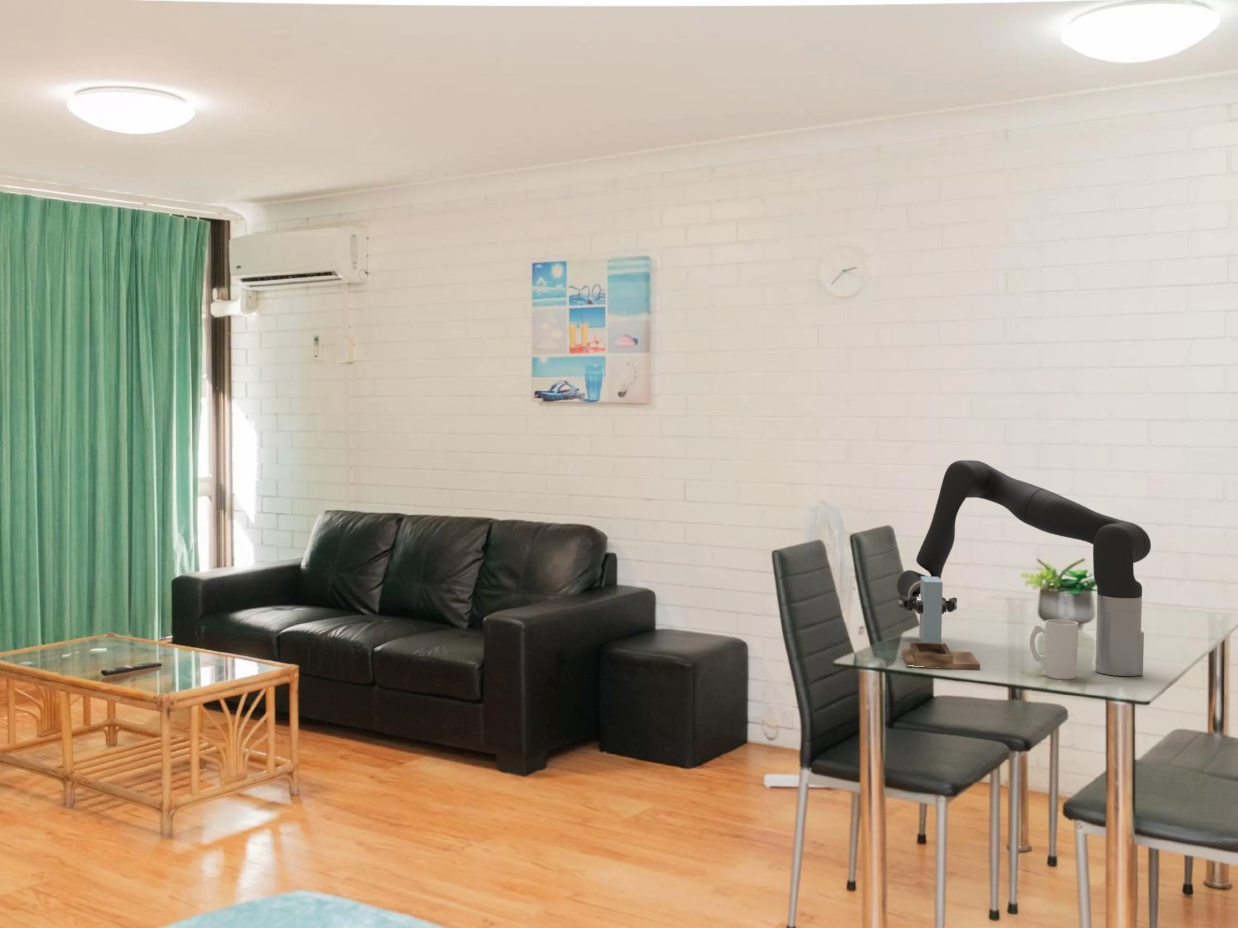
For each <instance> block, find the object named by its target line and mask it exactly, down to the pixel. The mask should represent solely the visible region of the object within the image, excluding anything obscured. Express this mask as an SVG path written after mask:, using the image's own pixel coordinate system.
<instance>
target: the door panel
mask: <svg viewBox="0 0 1238 928" xmlns="http://www.w3.org/2000/svg"><path fill="white" fill-rule="evenodd" d="M943 587H944V586H943V581H942V579H940V578H939V577H931V576H929V575H928V576H927V575H926V576H921V584H920V597H921V601H922V603H923V613H920V614H919V633H918V634H919V635H918V636H919V638H920V640H921V643H938V644H941V643H942V622H943V619H942V617H943V614H942V597H943Z"/></svg>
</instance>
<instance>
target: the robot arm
mask: <svg viewBox="0 0 1238 928" xmlns="http://www.w3.org/2000/svg"><path fill="white" fill-rule="evenodd" d="M943 475H944V476H943V479H942V482H941V486H940V491H939V495H938V498H937V500H936V504H935V510H934V513H933V515H932V519H931V523H930V525H929V528H928V531H927V533H926V535H925V537H924V540H923V541H922V544H921V547H920V549H919V551H918V553H917V556H916V559H915V561H916V564H918V565H919V566H920V567H921V568H922V569H924V570H925V571H927V572H928V573H929V575H930V577H939V578H940V580H942V579H941V578H942V573H943V570H944V567H945V565H946V562H947V561H948V558H949V556H950V554H951V551H952V549H953V547H954V543H955V537H956V521H957V516H958V513H959V510H960V508H961V507H962V505H963V504H964V502H965V501H966V499H969V498H970V499H971V498H974V499H975V498H978V499H983V500H986V501H989V502H992V503H994V504H998V505H999V506H1002V507H1004V509H1007V510H1008V511H1009V512H1010V513H1011V514H1012V515H1013V516H1014V517H1015V518H1016V519H1018V520H1019V521H1021V522H1022V523H1024V524H1026V525H1028V526H1030V527H1033V528H1035V529H1038V531H1039V530H1040V531H1042V532H1045V533H1048V534H1051V535H1055V536H1058V537H1064V538H1069V539H1073V540H1079V541H1082V542H1086V543H1089V544H1091V545H1093V547H1092V558H1093V559H1092V562H1093V563H1092V564H1093V580H1094V583H1095V586H1096V595H1097V596H1096V629H1095V630H1096V632H1095V633H1096V635H1095V637H1096V638H1095V639H1096V640H1095V671H1096V672H1097V673H1100V674H1104V675H1107V676H1115V677H1117V676H1118V677H1135V676H1143V675H1144V647H1145V645H1144V644H1145V643H1144V641H1145V632H1143V630H1142V616H1143V615H1142V608H1143V607H1142V606H1143V605H1142V604H1143V586H1142V584H1141V582H1139V581H1138V580H1137V579H1136V578H1135V574H1134V570H1135V569H1134V564H1135V563H1139V562H1140V561H1142V560H1144V559H1146V557H1147V556H1149V554H1150V551H1151V549H1152V548H1151V547H1152V546H1151V545H1152V544H1151V539H1150V537H1149V535H1148V533H1147V532H1146V531H1145V530H1144V529H1143V528H1142V526H1140V525H1138V524H1136V523H1133V522H1131V521H1126V520H1122V519H1120V518H1119V519H1118V518H1115V517H1112V516H1109V515H1105V514H1102V513H1100V512H1096V511H1094V510H1092V509H1090V508H1088V507H1086V506H1084V505H1083V504H1080V503H1078V502H1075V501H1074V500H1071V499H1069V498H1067V497H1064V496H1063V495H1060V494H1058V493H1055V492H1053V491H1050V490H1049V489H1045V488H1043V487H1041V486H1037V485H1035V484H1032V483H1029V482H1026V481H1023V480H1020V479H1016V478H1013V477H1011V476H1009V475H1008V474H1006V473H1004V472H1002V471H1000V470H998V469H997V468H994V467H993V466H991V465H989V464H987V463H985V462H983V461H981V460H975V459H974V460H971V459H970V460H969V459H968V460H967V459H965V460H962V459H961V460H956V461H954V462H952V463H950V465H949V466H948V467H947V469H946V471H945V473H944V474H943ZM921 576H927V575H925V574H923V573H920V572H918V571H914V570H911V569H907V570H905V571H904V572H903V571H902V573H901V574H900V576H898V579H897V582H896V589H897V592H898V595H899V596H898V607H899V608H902V609H904V610H906V611H909V612H911V611H913V610H914V611H915V612H916V613H917V614H919V615H920V613H923V603H922V601H921V597H920V584H921ZM957 608H958V598H957V597H951V598H949V599H948V600H947V599H946V598H945V597H943V596H942V615H944V614H945V613H947V612H948V613H952V612H954V611H955V610H957Z"/></svg>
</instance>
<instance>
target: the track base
mask: <svg viewBox="0 0 1238 928" xmlns="http://www.w3.org/2000/svg"><path fill="white" fill-rule="evenodd" d="M900 650H901V651H900V653H901V654H902V655H901V654H900V655H901V657H902V656H903V657H902V660H903V659H904V660H903V662H904V661H905V662H904V664H905V663H906V664H905V666H906V665H914V666H924V667H939V668H938V669H942V668H952V669H951V670H975V671H979V670H981V663H979V660H977V659H976V657H975V656H974V654H973V653H972V652H971V651H959V650H958V651H953V650H950V648H949V647H948V646H947V644H946V643H944V642H943V643H942V642H941V644H938V643H923V642H912V641H911V642H909V649H900Z"/></svg>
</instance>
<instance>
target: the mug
mask: <svg viewBox="0 0 1238 928" xmlns="http://www.w3.org/2000/svg"><path fill="white" fill-rule="evenodd" d="M1040 633H1043V634H1044V635H1045V654H1044V655H1041V654H1040V653H1039V652H1038V650H1037V648H1036V641H1035V640H1036V637H1037V636H1038V634H1040ZM1078 638H1079V622H1077V621H1075V620H1069V619H1047V620H1045V626H1044V627H1043V626H1042V625H1040V624H1039V625H1038V624H1035V625H1034V628H1033V629H1032V631H1031V634H1030V636H1029V647H1030V651H1031V653H1032V657H1033V659H1034V661H1035V662H1041V663H1043V664H1044V665H1045V676H1046V677H1048V678H1050V679H1056V680H1074V679H1076V677H1077V665H1078V644H1079V643H1078V642H1079V639H1078Z"/></svg>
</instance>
